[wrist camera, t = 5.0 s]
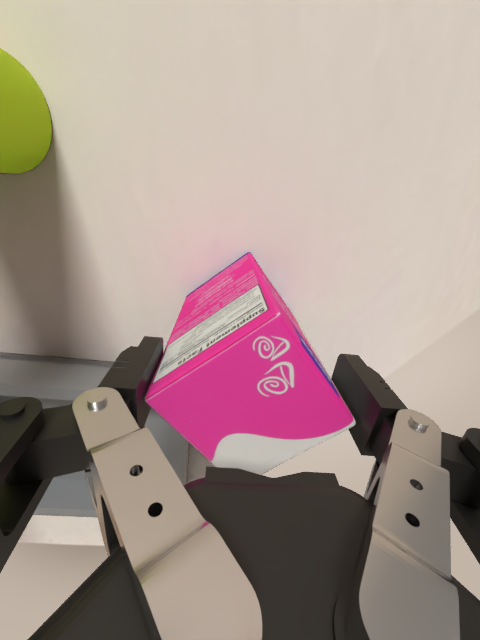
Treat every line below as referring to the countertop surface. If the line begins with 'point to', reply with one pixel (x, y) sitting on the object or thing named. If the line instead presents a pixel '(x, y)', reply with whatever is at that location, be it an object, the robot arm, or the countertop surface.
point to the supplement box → (245, 376)
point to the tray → (62, 389)
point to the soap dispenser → (21, 118)
